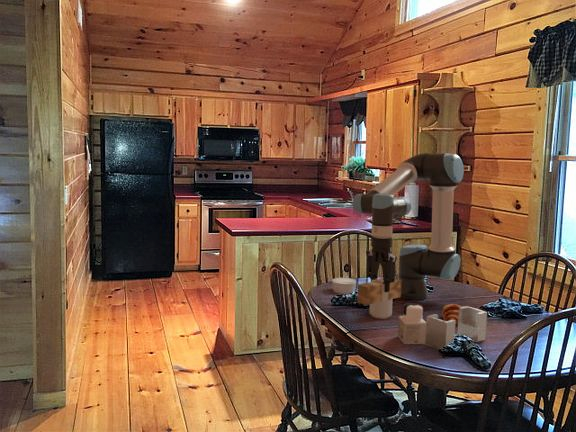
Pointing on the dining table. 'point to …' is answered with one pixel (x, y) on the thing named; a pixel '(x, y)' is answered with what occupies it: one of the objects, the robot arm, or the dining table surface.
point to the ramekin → (343, 285)
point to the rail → (377, 291)
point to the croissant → (451, 312)
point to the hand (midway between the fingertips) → (379, 298)
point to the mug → (381, 309)
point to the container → (412, 325)
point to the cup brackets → (444, 331)
